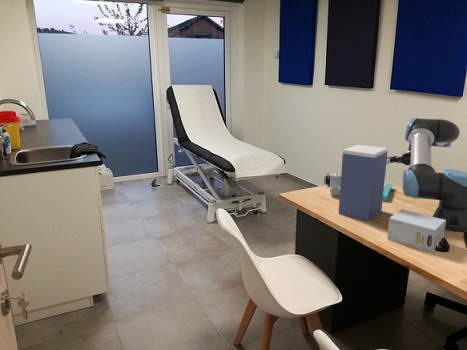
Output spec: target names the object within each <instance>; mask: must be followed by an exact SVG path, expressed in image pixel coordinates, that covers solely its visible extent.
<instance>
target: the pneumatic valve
mask: <svg viewBox="0 0 467 350" xmlns="http://www.w3.org/2000/svg"><path fill="white" fill-rule="evenodd" d="M323 178H324V179H323V183H324V185H326V186H327V188H330V189H329V194H331V195H332V196H340V185H341V173H338V172H335V173H327V174H326V175H325V176H324V177H323Z"/></svg>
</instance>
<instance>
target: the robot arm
mask: <svg viewBox="0 0 467 350" xmlns="http://www.w3.org/2000/svg"><path fill="white" fill-rule="evenodd" d="M460 134H461V132H460V128H459V126H458V125H457V124H455V123H454V122H452V121H450V120H447V119H442V118H441V119H440V118H439V119H438V118H437V119H436V118H418V117H416V118H410V119H409V120H408V121H407V125H406V130H405V135H404V139H405V141H406V142H408V148H407V149H408V150H407V151H406V152H404V153H403V154H402V155H401V156H397V155H394V156H387V162H386V166H388V165H389V164H392V163H394V164H395V163H397V164H402V165H405V166H409V167H408V168H407V169H406V170H404V171H403V173H402V192H403V194H404V196H405V197H408V198H412V199H422V200H433V201H435V200H436V201H438V206H437V208H436V210H435V211H434V213H433V215H432V217H436V218H440V219H444V220H446V224H445V230H446V231H450V232H461V233H462V232H463V233H464V232H467V172H465V171H462V170H458V169H452V168H451V169H450V168H449V169H448V168H447V169H446V168H445V169H444V170H443V172H436V170H435V168H434V167H433V166H432V147H439V148H449V147H451V146H452V143H453V142H455V141H457V140H458V139H459V137H460Z"/></svg>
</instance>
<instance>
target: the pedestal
mask: <svg viewBox="0 0 467 350" xmlns="http://www.w3.org/2000/svg"><path fill="white" fill-rule="evenodd" d="M388 152H389V150H388V147H379V146H372V145H365V144H356V145H353V146H351V147H347V148H345V149H343V150H342V161H341V171H340V172H341V173H340V174H341V185H340V187H339V189H340V195H339V201H338V215H343V216H347V217H350V218H354V219H357V220H358V219H359V220H363V221H366V222H369V221H370V220H372V219H373V218H374V217H375V216H377V215H378V214H379V213H381V212H382V208H383V202H384V201H383V191H384V187H385V181H386V180H385V179H386V170H387V165H386V162H387V157H388Z"/></svg>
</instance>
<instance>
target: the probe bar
mask: <svg viewBox="0 0 467 350" xmlns="http://www.w3.org/2000/svg"><path fill="white" fill-rule="evenodd" d="M392 187H393V183H387V182H386V183H385V184H384V191H383V201H382V202H387V200H388V198H389V196H390V193H391V192H392Z"/></svg>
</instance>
